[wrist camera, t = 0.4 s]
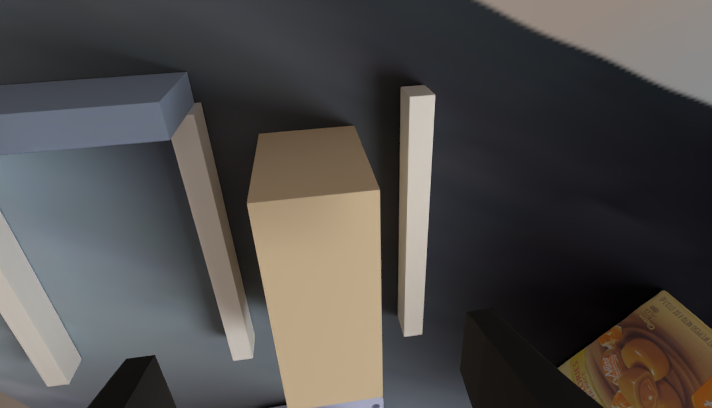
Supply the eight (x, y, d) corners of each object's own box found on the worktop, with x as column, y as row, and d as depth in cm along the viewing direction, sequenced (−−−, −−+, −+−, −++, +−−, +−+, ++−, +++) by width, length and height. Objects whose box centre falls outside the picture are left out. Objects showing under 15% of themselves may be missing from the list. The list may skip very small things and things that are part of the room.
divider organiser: (414, 314, 24) (436, 373, 20) (61, 362, 22) (19, 436, 19) (425, 54, 17) (461, 78, 13) (-97, 92, 15) (-213, 130, 11)
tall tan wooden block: (361, 299, 23) (382, 396, 18) (288, 308, 23) (288, 411, 17) (353, 124, 18) (379, 189, 13) (258, 132, 18) (246, 203, 12)
